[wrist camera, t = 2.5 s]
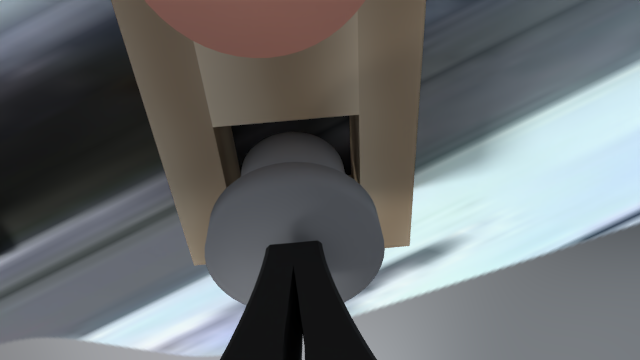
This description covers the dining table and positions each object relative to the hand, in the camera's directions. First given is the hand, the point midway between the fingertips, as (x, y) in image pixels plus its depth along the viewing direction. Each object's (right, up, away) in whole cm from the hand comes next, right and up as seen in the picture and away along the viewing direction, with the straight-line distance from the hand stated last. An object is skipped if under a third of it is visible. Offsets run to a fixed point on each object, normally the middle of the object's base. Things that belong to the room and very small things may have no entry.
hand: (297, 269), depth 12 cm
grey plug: (0, +2, +3) cm, 4 cm away
